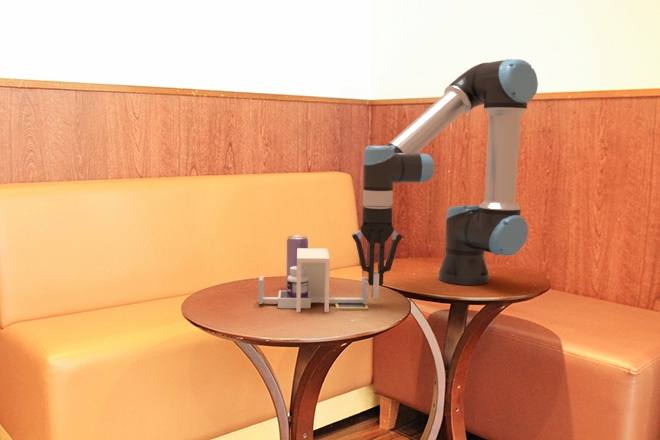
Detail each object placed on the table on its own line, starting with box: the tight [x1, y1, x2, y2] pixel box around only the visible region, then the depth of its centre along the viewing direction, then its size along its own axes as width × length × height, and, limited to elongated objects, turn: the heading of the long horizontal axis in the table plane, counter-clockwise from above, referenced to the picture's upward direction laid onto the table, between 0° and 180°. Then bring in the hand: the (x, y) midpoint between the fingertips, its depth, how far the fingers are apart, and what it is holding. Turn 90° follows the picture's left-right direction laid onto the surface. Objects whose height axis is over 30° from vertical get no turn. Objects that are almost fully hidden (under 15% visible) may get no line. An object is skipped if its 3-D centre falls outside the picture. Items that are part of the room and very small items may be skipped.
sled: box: [258, 275, 369, 309], centre depth 165 cm, size 28×8×7 cm, turn 93°
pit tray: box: [334, 303, 369, 311], centre depth 166 cm, size 8×10×1 cm
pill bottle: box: [286, 266, 308, 298], centre depth 165 cm, size 5×5×10 cm
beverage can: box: [286, 234, 309, 279], centre depth 181 cm, size 6×6×15 cm
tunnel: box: [295, 247, 331, 313], centre depth 165 cm, size 8×14×14 cm, turn 3°
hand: (375, 297), depth 166 cm, fingers closed
